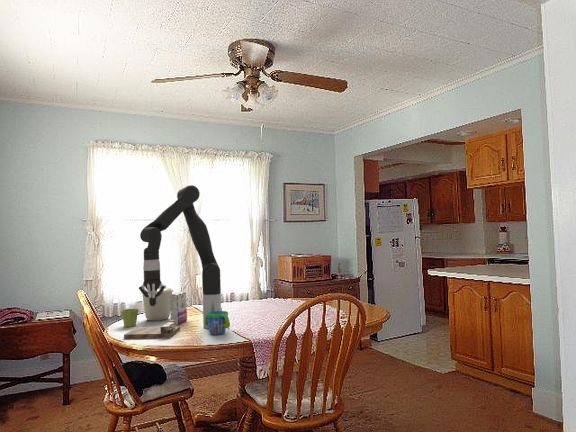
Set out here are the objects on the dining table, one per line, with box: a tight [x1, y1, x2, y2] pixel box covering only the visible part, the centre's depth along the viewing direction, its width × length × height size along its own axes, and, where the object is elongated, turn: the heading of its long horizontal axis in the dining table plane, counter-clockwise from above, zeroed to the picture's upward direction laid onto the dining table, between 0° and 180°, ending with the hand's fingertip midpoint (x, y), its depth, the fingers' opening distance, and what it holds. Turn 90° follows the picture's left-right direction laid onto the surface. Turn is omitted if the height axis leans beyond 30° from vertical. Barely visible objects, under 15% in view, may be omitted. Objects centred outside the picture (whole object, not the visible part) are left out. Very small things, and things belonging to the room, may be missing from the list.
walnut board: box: [123, 326, 181, 340], centre depth 210 cm, size 22×16×4 cm
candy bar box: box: [170, 291, 188, 326], centre depth 239 cm, size 11×5×16 cm, turn 168°
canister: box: [140, 287, 174, 322], centre depth 252 cm, size 18×18×21 cm
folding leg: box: [160, 319, 176, 334], centre depth 209 cm, size 14×3×4 cm, turn 178°
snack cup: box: [205, 310, 231, 336], centre depth 208 cm, size 16×10×10 cm
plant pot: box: [120, 308, 140, 328], centre depth 234 cm, size 9×9×9 cm
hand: (153, 305), depth 204 cm, fingers closed
